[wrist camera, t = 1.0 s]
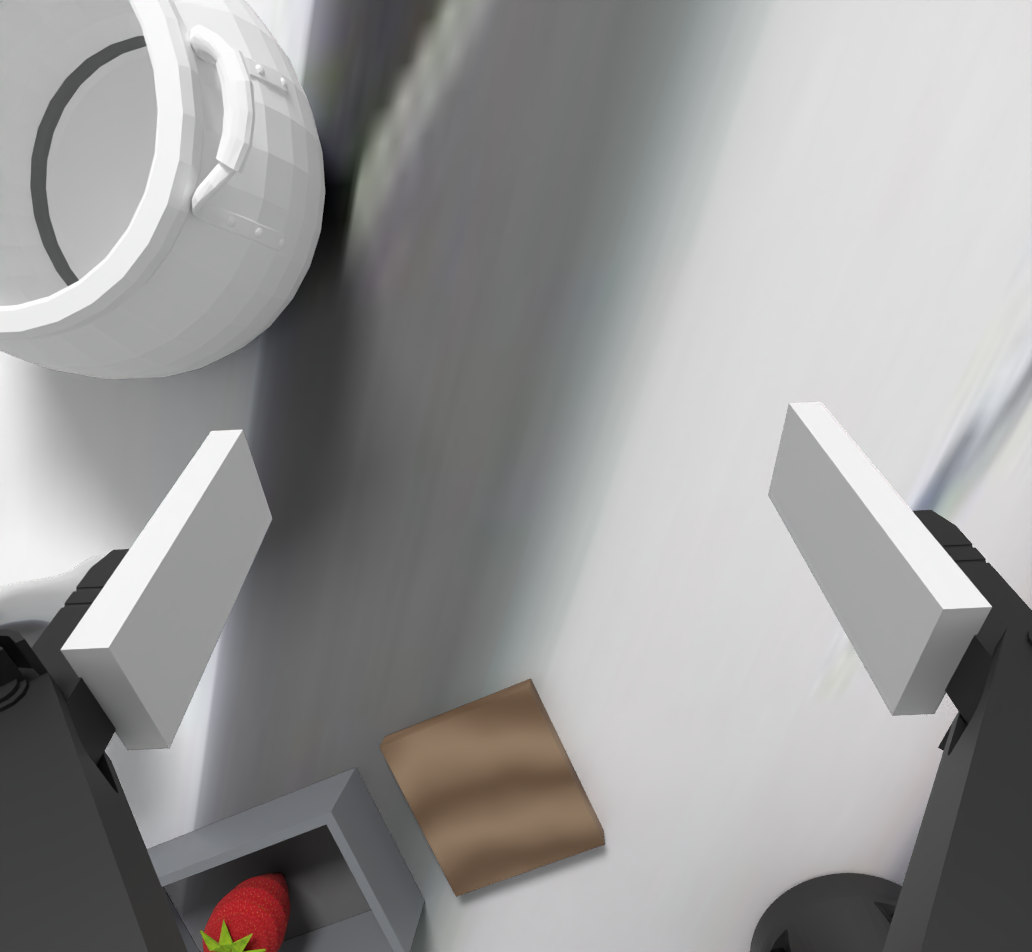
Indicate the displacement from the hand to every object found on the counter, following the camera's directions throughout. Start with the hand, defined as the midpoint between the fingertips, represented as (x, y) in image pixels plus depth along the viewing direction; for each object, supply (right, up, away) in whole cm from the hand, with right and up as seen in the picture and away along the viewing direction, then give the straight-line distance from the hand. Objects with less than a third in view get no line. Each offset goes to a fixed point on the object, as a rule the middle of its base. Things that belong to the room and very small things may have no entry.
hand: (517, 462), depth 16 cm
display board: (-2, -25, +36) cm, 44 cm away
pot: (-25, +20, +32) cm, 45 cm away
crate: (-20, -35, +40) cm, 56 cm away
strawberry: (-20, -35, +40) cm, 56 cm away
